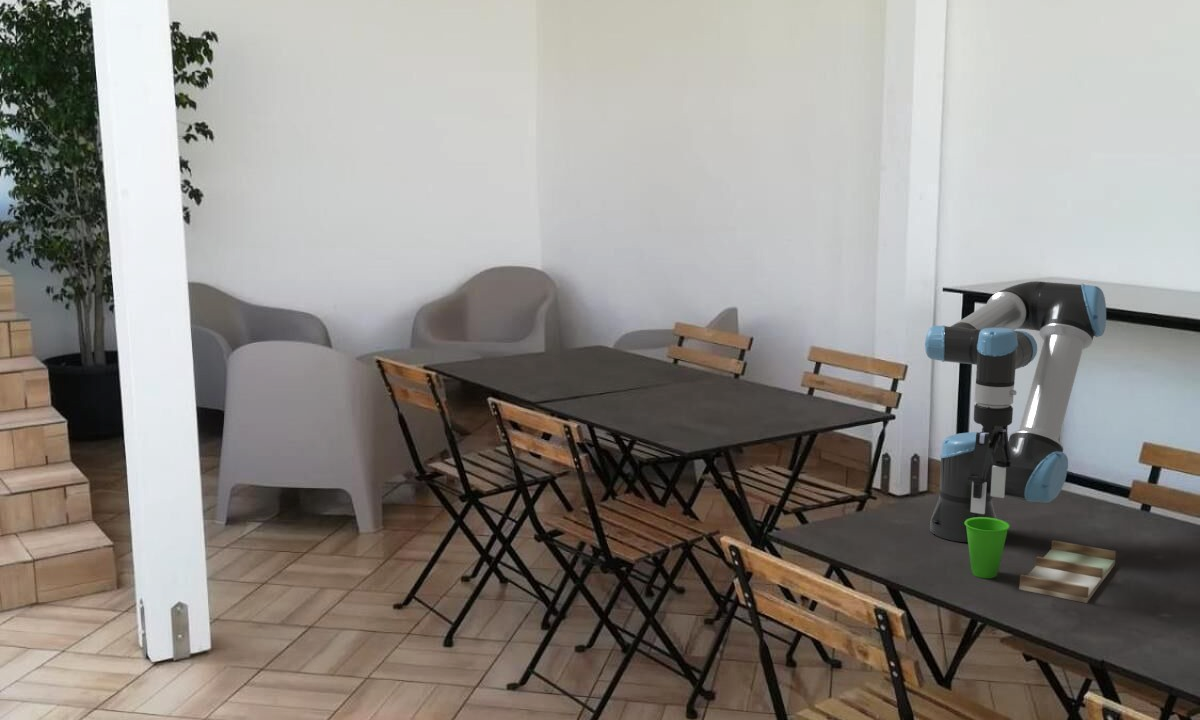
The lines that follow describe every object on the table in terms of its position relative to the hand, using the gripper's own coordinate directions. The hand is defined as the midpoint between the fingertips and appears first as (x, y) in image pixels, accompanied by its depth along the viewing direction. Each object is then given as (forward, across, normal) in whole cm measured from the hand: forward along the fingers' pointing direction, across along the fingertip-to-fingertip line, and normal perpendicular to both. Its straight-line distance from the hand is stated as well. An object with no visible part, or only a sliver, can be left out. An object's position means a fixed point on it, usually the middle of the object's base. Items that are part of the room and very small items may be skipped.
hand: (987, 504), depth 249 cm
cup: (+15, 0, 0) cm, 15 cm away
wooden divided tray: (+15, +8, -15) cm, 23 cm away
